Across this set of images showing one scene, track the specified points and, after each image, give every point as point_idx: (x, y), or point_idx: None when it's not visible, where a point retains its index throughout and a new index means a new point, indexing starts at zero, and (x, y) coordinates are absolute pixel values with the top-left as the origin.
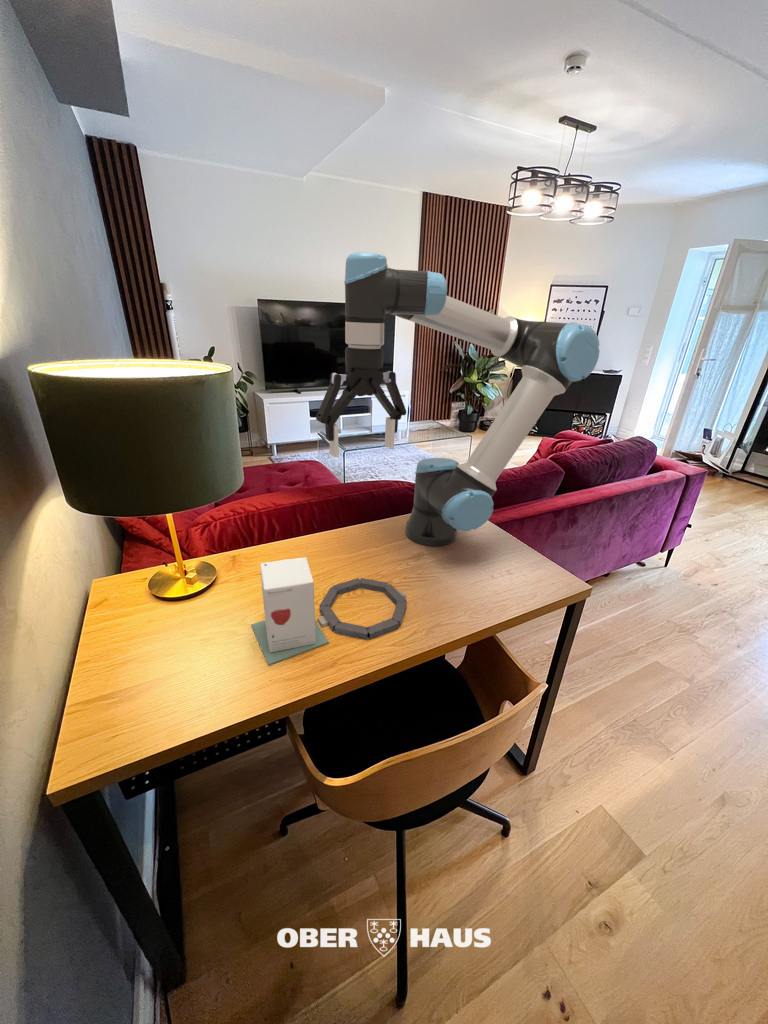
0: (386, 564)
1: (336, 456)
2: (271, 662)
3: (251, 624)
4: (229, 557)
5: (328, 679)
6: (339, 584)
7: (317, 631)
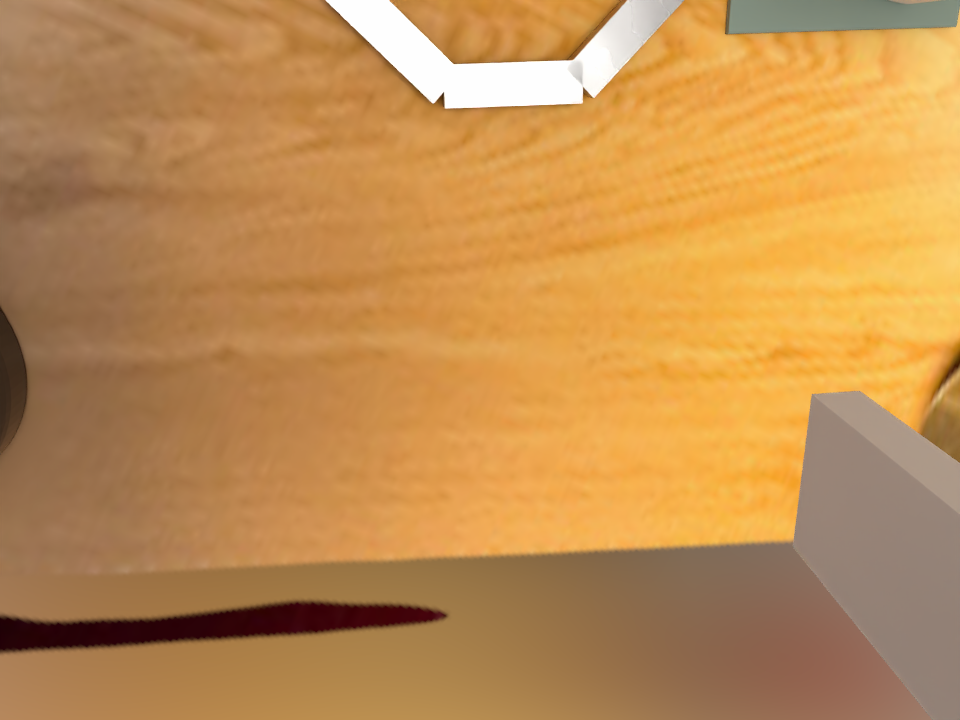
0: (246, 193)
1: (845, 393)
2: None
3: (955, 25)
4: None
5: None
6: (549, 98)
7: None
